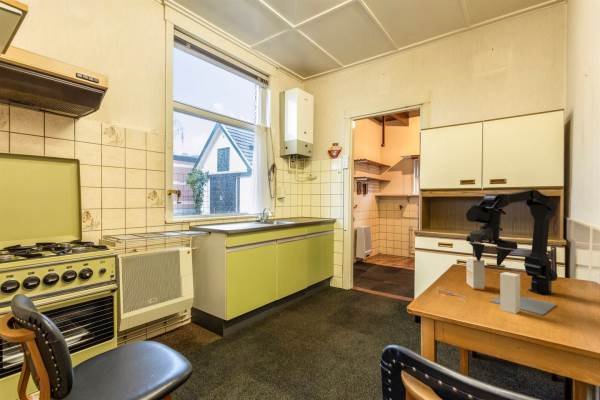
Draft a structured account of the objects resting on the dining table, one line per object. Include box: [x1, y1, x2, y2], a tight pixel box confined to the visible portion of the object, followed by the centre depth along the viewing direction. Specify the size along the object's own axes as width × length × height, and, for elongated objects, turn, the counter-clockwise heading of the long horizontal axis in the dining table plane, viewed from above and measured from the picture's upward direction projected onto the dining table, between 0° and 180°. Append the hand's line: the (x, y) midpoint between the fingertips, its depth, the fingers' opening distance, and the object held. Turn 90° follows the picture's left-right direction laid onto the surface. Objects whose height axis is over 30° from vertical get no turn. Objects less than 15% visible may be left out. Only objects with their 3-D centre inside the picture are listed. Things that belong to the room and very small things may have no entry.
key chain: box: [437, 290, 466, 303], centre depth 117 cm, size 13×7×1 cm, turn 36°
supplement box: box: [466, 256, 486, 291], centre depth 128 cm, size 8×5×13 cm, turn 168°
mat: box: [489, 295, 557, 316], centre depth 108 cm, size 16×16×1 cm
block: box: [499, 271, 521, 315], centre depth 101 cm, size 4×4×13 cm
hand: (487, 263), depth 114 cm, fingers open, 9 cm apart
